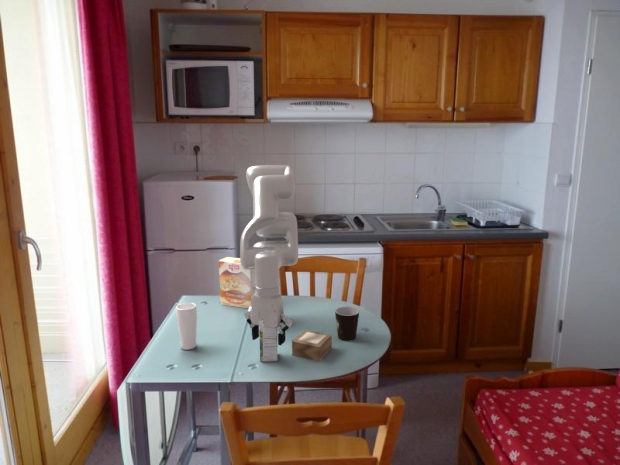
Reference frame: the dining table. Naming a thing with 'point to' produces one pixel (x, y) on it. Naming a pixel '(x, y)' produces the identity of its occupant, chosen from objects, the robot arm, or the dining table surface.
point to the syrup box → (267, 343)
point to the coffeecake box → (235, 283)
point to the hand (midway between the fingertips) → (268, 341)
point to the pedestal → (312, 345)
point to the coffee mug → (347, 322)
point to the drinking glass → (187, 325)
